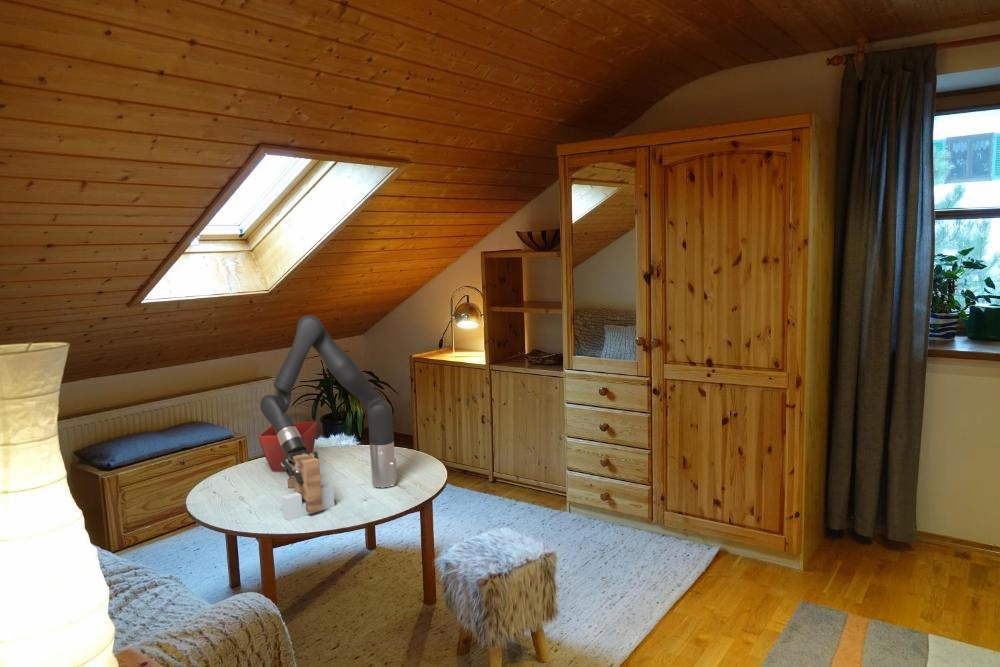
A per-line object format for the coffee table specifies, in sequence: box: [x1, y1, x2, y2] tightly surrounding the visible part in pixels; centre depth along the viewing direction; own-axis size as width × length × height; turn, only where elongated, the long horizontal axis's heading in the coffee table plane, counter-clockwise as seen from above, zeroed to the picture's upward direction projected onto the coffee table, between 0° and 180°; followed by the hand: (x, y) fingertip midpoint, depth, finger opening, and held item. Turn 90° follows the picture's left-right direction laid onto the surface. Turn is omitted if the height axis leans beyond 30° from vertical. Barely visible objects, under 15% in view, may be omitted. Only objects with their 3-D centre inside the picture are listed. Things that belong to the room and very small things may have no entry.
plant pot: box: [258, 421, 318, 473], centre depth 303 cm, size 19×19×17 cm
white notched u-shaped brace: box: [281, 482, 336, 522], centre depth 254 cm, size 18×4×8 cm, turn 133°
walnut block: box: [293, 454, 322, 513], centre depth 253 cm, size 10×5×18 cm, turn 43°
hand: (309, 481), depth 251 cm, fingers closed on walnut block, 5 cm apart
